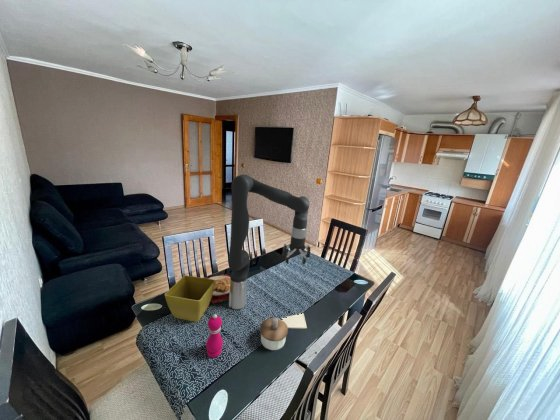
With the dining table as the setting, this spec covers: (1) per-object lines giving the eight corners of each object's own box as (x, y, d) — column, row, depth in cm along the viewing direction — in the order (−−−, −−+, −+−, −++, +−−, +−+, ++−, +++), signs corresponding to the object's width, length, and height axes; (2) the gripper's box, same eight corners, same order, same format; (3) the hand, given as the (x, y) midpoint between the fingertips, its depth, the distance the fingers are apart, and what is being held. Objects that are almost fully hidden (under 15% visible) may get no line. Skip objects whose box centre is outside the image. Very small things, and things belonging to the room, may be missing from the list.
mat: (278, 328, 118) (279, 327, 118) (277, 308, 133) (277, 307, 133) (306, 328, 120) (306, 327, 120) (302, 309, 134) (302, 308, 134)
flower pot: (164, 322, 115) (163, 294, 111) (185, 299, 133) (184, 274, 129) (199, 329, 113) (199, 301, 109) (215, 305, 131) (216, 279, 127)
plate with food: (214, 306, 125) (214, 301, 124) (191, 285, 141) (191, 280, 140) (247, 289, 143) (247, 284, 142) (223, 272, 159) (223, 268, 158)
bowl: (260, 350, 105) (261, 339, 103) (260, 330, 116) (261, 320, 115) (286, 350, 106) (287, 340, 104) (283, 330, 117) (284, 320, 116)
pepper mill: (224, 345, 105) (225, 309, 100) (220, 359, 98) (221, 321, 93) (208, 344, 105) (208, 308, 100) (204, 358, 98) (204, 320, 93)
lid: (259, 341, 102) (260, 330, 101) (260, 319, 115) (260, 309, 114) (289, 341, 103) (290, 330, 102) (286, 319, 117) (287, 310, 115)
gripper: (285, 237, 111) (282, 266, 115) (313, 238, 112) (309, 267, 117) (284, 231, 118) (281, 259, 123) (310, 233, 120) (307, 260, 124)
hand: (295, 263), depth 120 cm, fingers open, 8 cm apart
